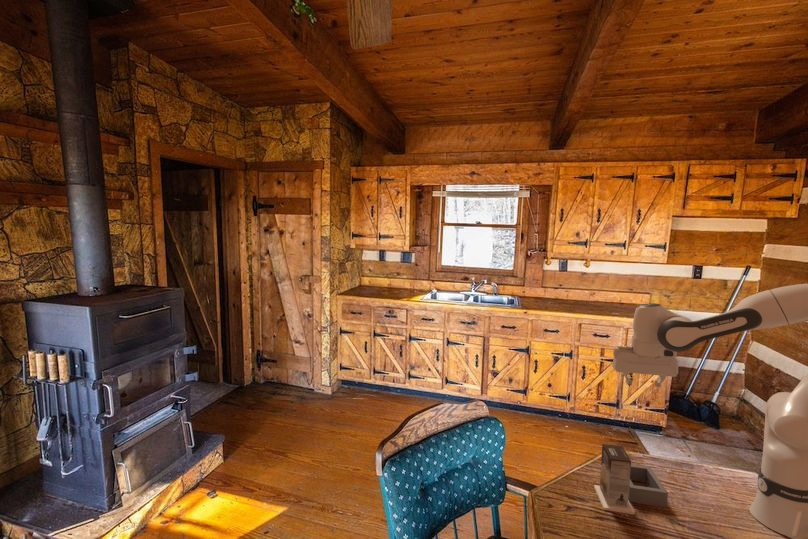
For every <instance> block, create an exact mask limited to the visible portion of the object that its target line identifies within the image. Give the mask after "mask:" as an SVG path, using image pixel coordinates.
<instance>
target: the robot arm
mask: <svg viewBox="0 0 808 539" xmlns="http://www.w3.org/2000/svg"><path fill="white" fill-rule="evenodd" d="M805 322H806V323H807V322H808V283H799V284H792V285H786V286H780V287H775V288H771V289H767V290H764V291H760V292H757V293H754V294H751V295H749V296H747V297H744V298H743V299H741V300H740V301H739V302H738V303H737V304H736V305H735V306H734V307H732V308H731V309H729V310H727V311H725V312H723V313H719V314H716V315H712V316H709V317H704V318H700V319H696V320H691V318H688V317H687V316H684V315H680V314H678V313H676V312H673V311H671V310H669V309H667V308H666V307H665V306H663V305H662V304H660V303H654V302H653V303H651V302H650V303H642V304H640V305H638V306H637V307H636V308H635V311H634V315H633V322H632V329H633V334H632V337H631V346H622V345H619V346H618V347H617V346H616V347H615V348H613V361H612V369H613V370H615V371H616V372H617V373H622V375H623V377H624V378H625V384H626V385H630V386H632V385H633V383H632V382H633V380H632V379H631V378H629V376H630V374H637V375H639V374H640V375H650V376H651V375H652V376H658V377H659V378H658V379H657V380H654V387H656V388H662V384H663V382H664V381H666V379H667V378H666V377H672V378H674V377H675V378H676V377H677V376H678V374H679V361H678V359H677V358H676V357H677V355H678V352H679V353H681V352H683V353H684V352H687V351H689V350H690V349H693V348H694V347H695V346H697V345H698V344H700V343H702V342H705V341H708V340H712V339H715V338H719V337H720V338H721V337H725V336H729V335H733V334H737V333H741V332H749V331H756V330H757V331H758V330H764V329H773V328H779V327H785V326H786V327H787V326H789V325H794V324H795V325H796V324H800V323H805ZM762 448H763V449H762V458H761V467H760V468H759V470H758V475H757V476H758V477H757V490H756V494H755V497H754V499H753V501H752V503H751V505H750V506H749V512H750V514H751V515H752V517H754V519H755V520H757V521H758V522H759V523H760V524H762V525H763V526H766V527H767V528H769V529H770V530H772V531H774V532H776V533H779V534H781V535H784V536H786V537H788V538H790V539H808V373H807V374H805V375H804V376H803V377H802V378H801V380H800V382H799V383H798V384H797V385H796V386H795V388H794V389H793V390H792V391H791V392H789V391H780V392H776V393H774V394H772V395H771V396H770V397H769V398H768V400H766V404H765V416H764V430H763V447H762Z"/></svg>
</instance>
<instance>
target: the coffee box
mask: <svg viewBox="0 0 808 539" xmlns="http://www.w3.org/2000/svg"><path fill="white" fill-rule="evenodd" d="M631 464H632V460H631V459H630V457H629V455H628V453H627V451H626V450H625V448H624V446H623V445H616V444H615V445H614V444H606V443H605V444H604V443H602V447H601V460H600V475H599V476H600V477H599V486H600V489H601V491H602V494H603V496H604V498H605V501H606V503H607V505H611V506H618V507H624V508H628V495H629V483H630V471H631Z"/></svg>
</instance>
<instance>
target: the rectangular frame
mask: <svg viewBox="0 0 808 539" xmlns="http://www.w3.org/2000/svg"><path fill="white" fill-rule="evenodd" d="M633 481H635V482H643V481H644V482H643V483H646V484H647V486H642V485H641V486H640V485H636V484H634V483H633ZM668 496H669V493H668V491H667V490H666V488H665V486H664V485H663V483H661V481H660V480H659V478H658V477H657V475H656V474H655V473H654V471H653V470H652V468H651V467H650V466H648V465H647V466H646V465H638V464H632V463H631V471H630V483H629V495H628V500H629V502H630V503H636V504H642V505H650V506H655V507H660V508H667V507H668Z"/></svg>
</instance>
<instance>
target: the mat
mask: <svg viewBox="0 0 808 539" xmlns="http://www.w3.org/2000/svg"><path fill="white" fill-rule="evenodd" d="M593 485H594V486H593V489H594V491H595V492H596V496H597V498H598V500H599V502H600V505H601V507H602V509H603V510H604V511H610V512H618V513H621V514H629V515H634V516H635V514H636V512H635V510H634V508H633V506H632V504H631V502H629V500H628V508H624V507H618V506H611V505H607V503H606V501H605V498H604V496H603V494H602V491H601V489H600V485H597V484H593Z"/></svg>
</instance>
